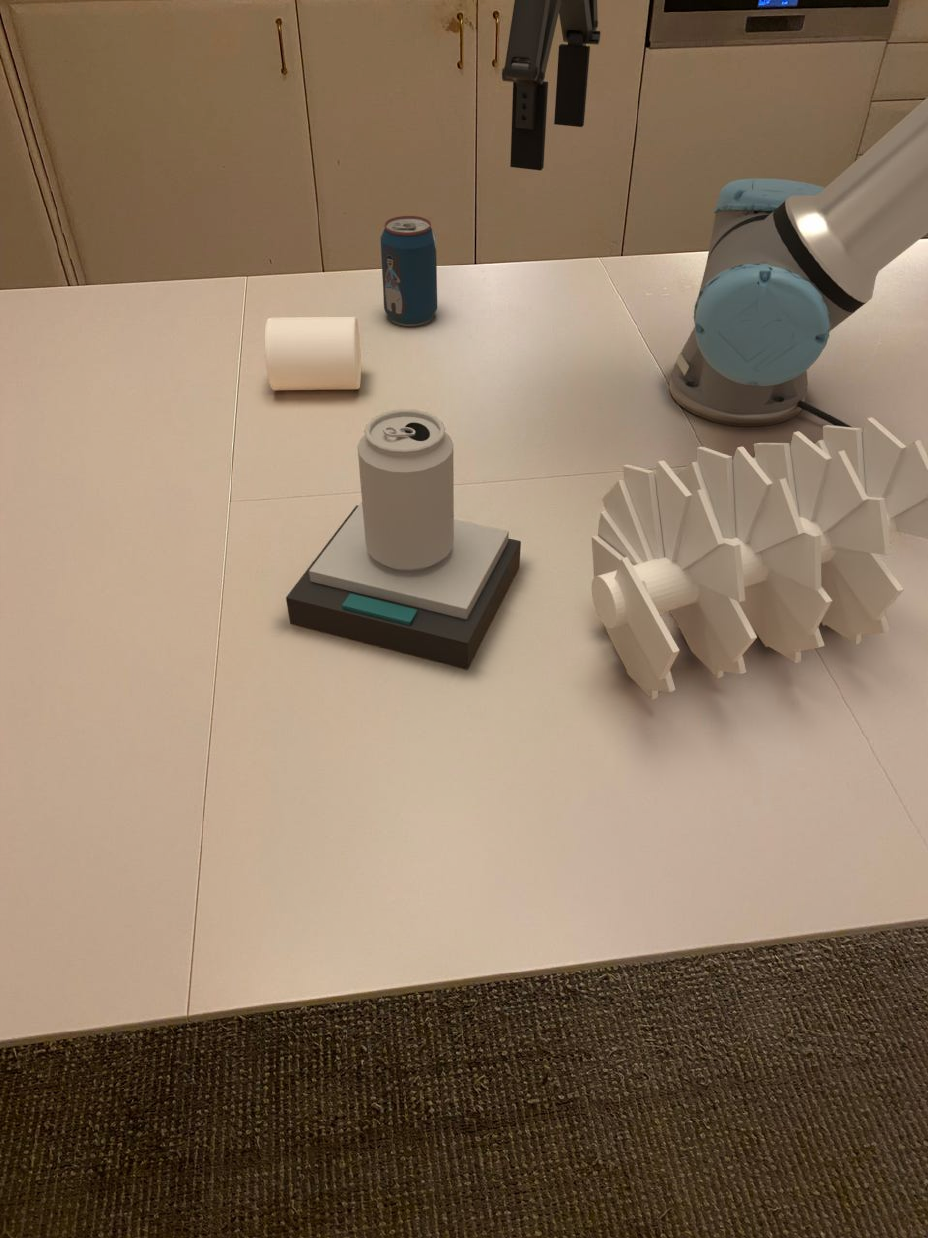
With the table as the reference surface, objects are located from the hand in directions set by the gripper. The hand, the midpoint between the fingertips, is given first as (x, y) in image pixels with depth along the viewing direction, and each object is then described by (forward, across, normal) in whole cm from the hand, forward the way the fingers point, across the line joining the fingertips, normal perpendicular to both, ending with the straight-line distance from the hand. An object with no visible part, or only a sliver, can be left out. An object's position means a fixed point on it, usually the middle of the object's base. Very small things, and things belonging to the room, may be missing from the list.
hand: (549, 145), depth 85 cm
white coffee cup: (+29, -2, -27) cm, 40 cm away
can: (+25, +30, -2) cm, 39 cm away
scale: (+29, +31, -2) cm, 42 cm away
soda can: (+29, -21, -23) cm, 42 cm away
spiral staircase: (+29, +27, +25) cm, 47 cm away
